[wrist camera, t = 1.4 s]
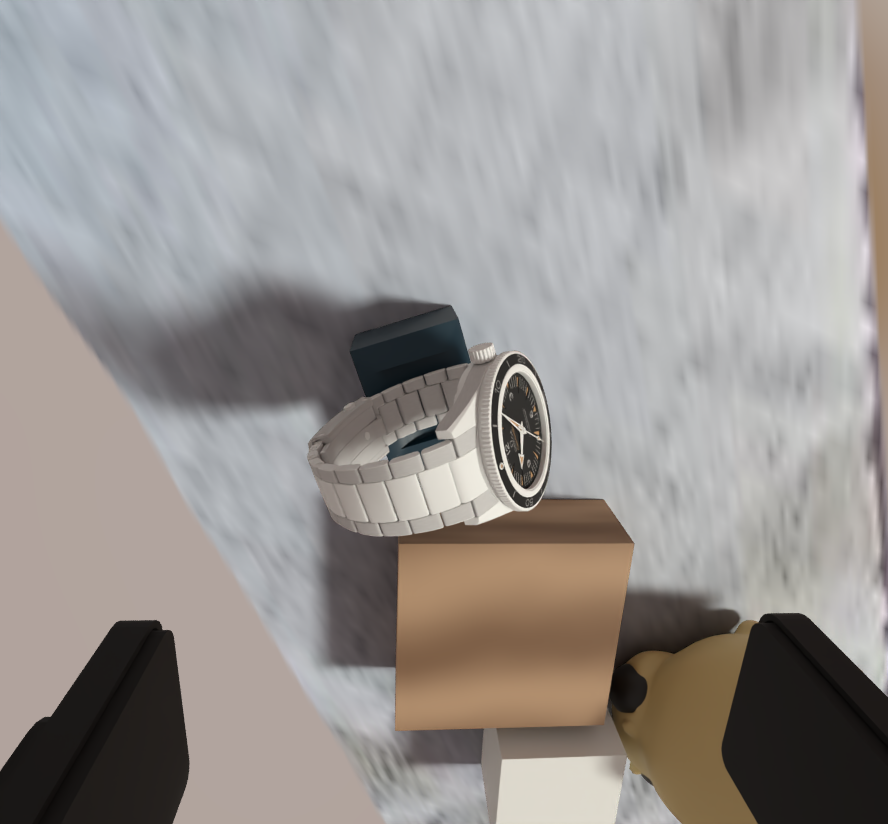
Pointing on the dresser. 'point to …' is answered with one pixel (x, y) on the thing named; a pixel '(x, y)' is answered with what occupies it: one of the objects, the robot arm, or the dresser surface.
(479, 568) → the walnut block
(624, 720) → the beige rounded piece
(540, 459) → the watch
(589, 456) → the dresser surface
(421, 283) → the dresser surface
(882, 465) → the dresser surface
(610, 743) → the off-white block
